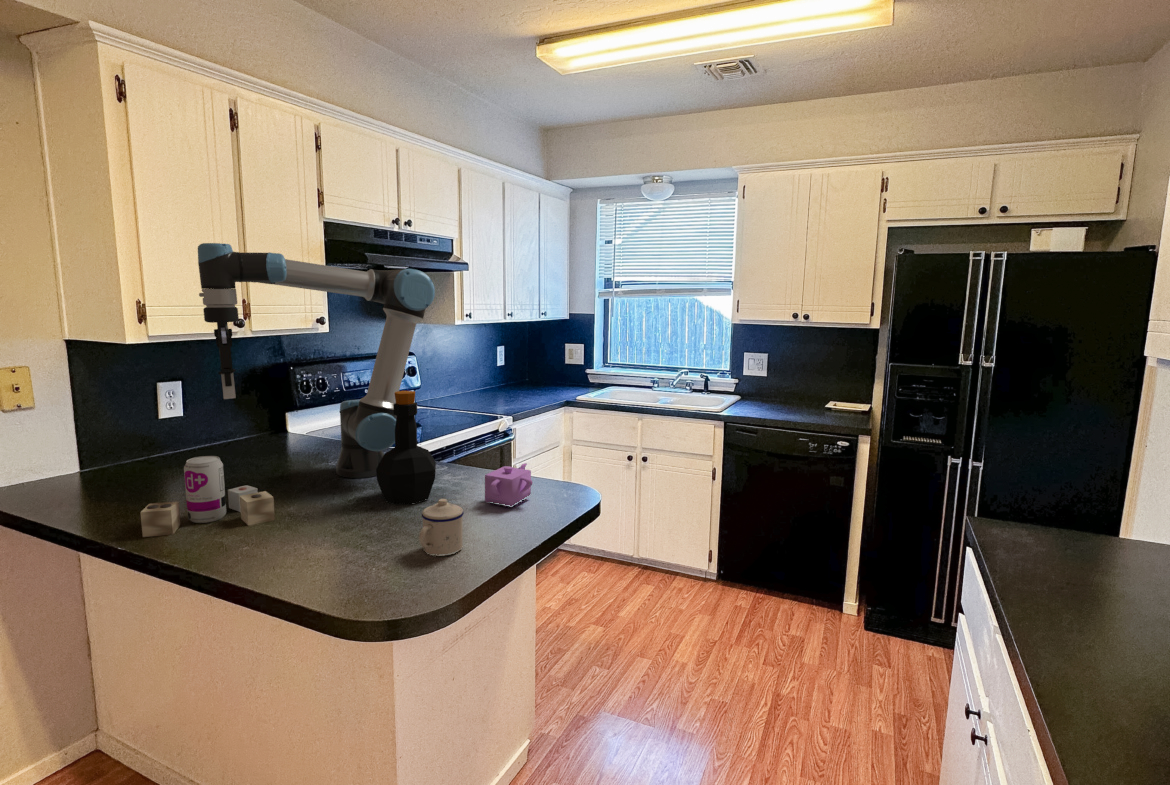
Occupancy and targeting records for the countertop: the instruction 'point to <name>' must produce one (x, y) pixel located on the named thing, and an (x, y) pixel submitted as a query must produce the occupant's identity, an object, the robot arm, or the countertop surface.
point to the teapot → (508, 485)
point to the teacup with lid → (442, 528)
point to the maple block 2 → (257, 508)
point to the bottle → (406, 458)
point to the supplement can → (205, 489)
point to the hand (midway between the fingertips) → (229, 398)
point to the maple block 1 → (160, 519)
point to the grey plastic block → (237, 492)
